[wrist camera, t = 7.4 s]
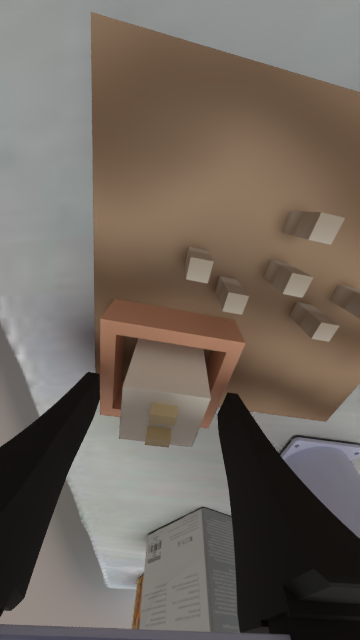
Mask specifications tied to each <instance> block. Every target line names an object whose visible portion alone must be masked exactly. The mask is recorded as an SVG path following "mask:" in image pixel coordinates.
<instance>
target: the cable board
mask: <svg viewBox="0 0 360 640" xmlns="http://www.w3.org/2000/svg"><path fill="white" fill-rule="evenodd" d="M91 61H92V139H93V217H94V294H95V372H96V373H98V374H100V318H101V317H102V316H103V314H104V313H105V311H106V310H107V309H108V307H109V306H110V304H111V303H112V302H113V300H114V299H120V300H125V301H131V302H137V303H142V304H148V305H153V306H159V307H165V308H170V309H176V310H182V311H187V312H193V313H198V314H204V315H210V316H215V317H221V318H226V319H232V320H235V321H236V323H237V326H238V328H239V330H240V332H241V334H242V336H243V339H244V341H245V343H246V344H245V346H244V348H243V350H242V353H241V355H240V357H239V360H238V362H237V364H236V366H235V369H234V371H233V373H232V376H231V378H230V380H229V382H228V385H227V387H226V389H225V392H224V394H223V396H222V399H221V401H220V403H219V405H218V407H221V406H222V404H223V401H224V399H225V397H226V395H227V392H229V393H236V394H238V395H239V396H240V398H241V399H242V401H243V403H244V404H245V406H246V407H247V409H248V411H252V412H259V413H267V414H274V415H281V416H288V417H296V418H303V419H310V420H318V421H325V422H326V421H327V420H328V419H329V418H330V416H331V415H332V414H333V413H334V412H335V411H336V410H337V408H338V407H339V406H340V405H341V404H342V403H343V402H344V401H345V399H346V398H347V397H348V396H349V395H350V394H351V393H352V391H353V390H354V389H355V388H356V387H357V386H358V385H359V384H360V92H357V91H354V90H350V89H347V88H344V87H340V86H337V85H334V84H330V83H327V82H324V81H320V80H317V79H314V78H310V77H307V76H304V75H300V74H297V73H293V72H290V71H287V70H283V69H280V68H277V67H273V66H270V65H267V64H263V63H260V62H257V61H253V60H250V59H247V58H243V57H240V56H237V55H233V54H230V53H226V52H223V51H220V50H216V49H213V48H210V47H206V46H203V45H200V44H196V43H193V42H190V41H186V40H183V39H180V38H176V37H173V36H169V35H166V34H163V33H159V32H156V31H153V30H149V29H146V28H143V27H139V26H136V25H133V24H129V23H126V22H123V21H119V20H116V19H112V18H109V17H106V16H102V15H99V14H96V13H92V12H91ZM137 341H138V338H134V337H128V336H125V347H124V360H123V373H122V380H124V381H125V378H126V375H127V372H128V369H129V366H130V363H131V359H132V356H133V353H134V350H135V347H136V344H137ZM203 350H204V356H205V363H206V366H207V363H208V360H209V357H210V354H211V351H212V350H208V349H203Z"/></svg>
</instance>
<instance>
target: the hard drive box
mask: <svg viewBox="0 0 360 640" xmlns="http://www.w3.org/2000/svg"><path fill="white" fill-rule="evenodd" d="M139 629H145V630H172V631H200V632H228V633H240V630H239V623H238V615H237V592H236V571H235V554H234V539H233V527H232V517H231V516H228V515H224V514H222V513H219V512H216V511H213V510H209V509H207V508H201V509H199V510H197V511H195V512H193V513H191V514H188V515H186V516H185V517H183V518H181V519H179V520H178V521H176V522H173V523H172V524H170V525H167V526H165V527H163V528H161V529H159V530H157V531H156V532H154V533H152V534H150V535H148V537H147V547H146V559H145V570H144V582H143V593H142V604H141V616H140V627H139Z"/></svg>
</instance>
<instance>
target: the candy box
mask: <svg viewBox="0 0 360 640" xmlns="http://www.w3.org/2000/svg"><path fill="white" fill-rule="evenodd" d="M143 582H144V574H143V576H142V577H141V578H140V579H139V580H138V581H137V589H136V598H135V606H134V614H133V621H132V629H139V627H140V616H141V604H142V593H143Z"/></svg>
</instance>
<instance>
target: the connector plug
mask: <svg viewBox="0 0 360 640" xmlns="http://www.w3.org/2000/svg"><path fill="white" fill-rule="evenodd" d="M210 400H211V396H210V389H209V383H208V376H207V369H206V363H205V356H204V350H203V349H202V348H196V347H190V346H184V345H177V344H171V343H165V342H159V341H153V340H147V339H140V338H138V341H137V344H136V347H135V350H134V353H133V356H132V359H131V363H130V366H129V369H128V372H127V375H126V378H125V381H124V384H123V390H122V403H121V416H120V430H119V439H128V440H136V441H145V445H152V446H161V447H169V444H171V445H180V446H188V447H192V445H193V443H194V440H195V438H196V435H197V433H198V430H199V428H200V425H201V423H202V420H203V417H204V415H205V412H206V410H207V407H208V405H209V402H210Z"/></svg>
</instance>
